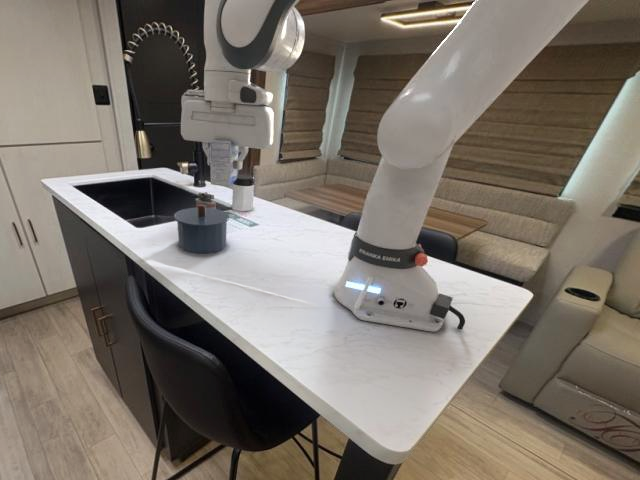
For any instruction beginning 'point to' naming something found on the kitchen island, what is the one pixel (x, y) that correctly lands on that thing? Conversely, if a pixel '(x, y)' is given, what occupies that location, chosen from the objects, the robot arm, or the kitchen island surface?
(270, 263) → the kitchen island surface
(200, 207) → the pot lid
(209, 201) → the lighter
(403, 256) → the robot arm
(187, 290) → the kitchen island surface
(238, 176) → the jar
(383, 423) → the kitchen island surface
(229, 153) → the medicine box
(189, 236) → the pot
